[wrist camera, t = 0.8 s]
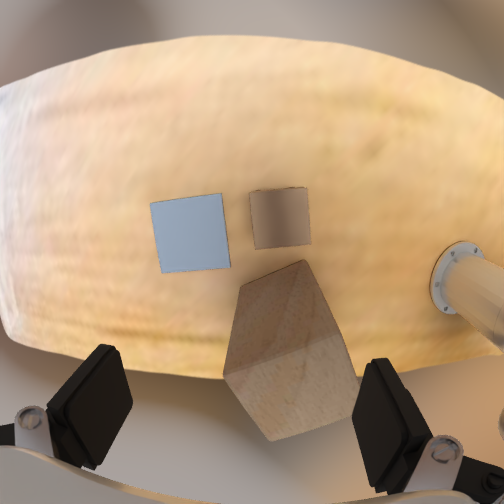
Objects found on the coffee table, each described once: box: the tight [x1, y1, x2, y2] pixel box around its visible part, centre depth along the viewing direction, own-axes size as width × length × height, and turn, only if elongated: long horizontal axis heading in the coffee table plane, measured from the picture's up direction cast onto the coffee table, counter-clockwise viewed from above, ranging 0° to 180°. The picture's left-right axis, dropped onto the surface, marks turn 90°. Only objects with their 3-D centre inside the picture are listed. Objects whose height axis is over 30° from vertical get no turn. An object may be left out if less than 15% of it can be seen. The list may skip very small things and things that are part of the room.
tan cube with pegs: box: [249, 187, 311, 250], centre depth 34 cm, size 6×6×8 cm
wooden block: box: [223, 260, 360, 441], centre depth 31 cm, size 10×10×20 cm
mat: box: [150, 193, 231, 273], centre depth 39 cm, size 10×10×1 cm
